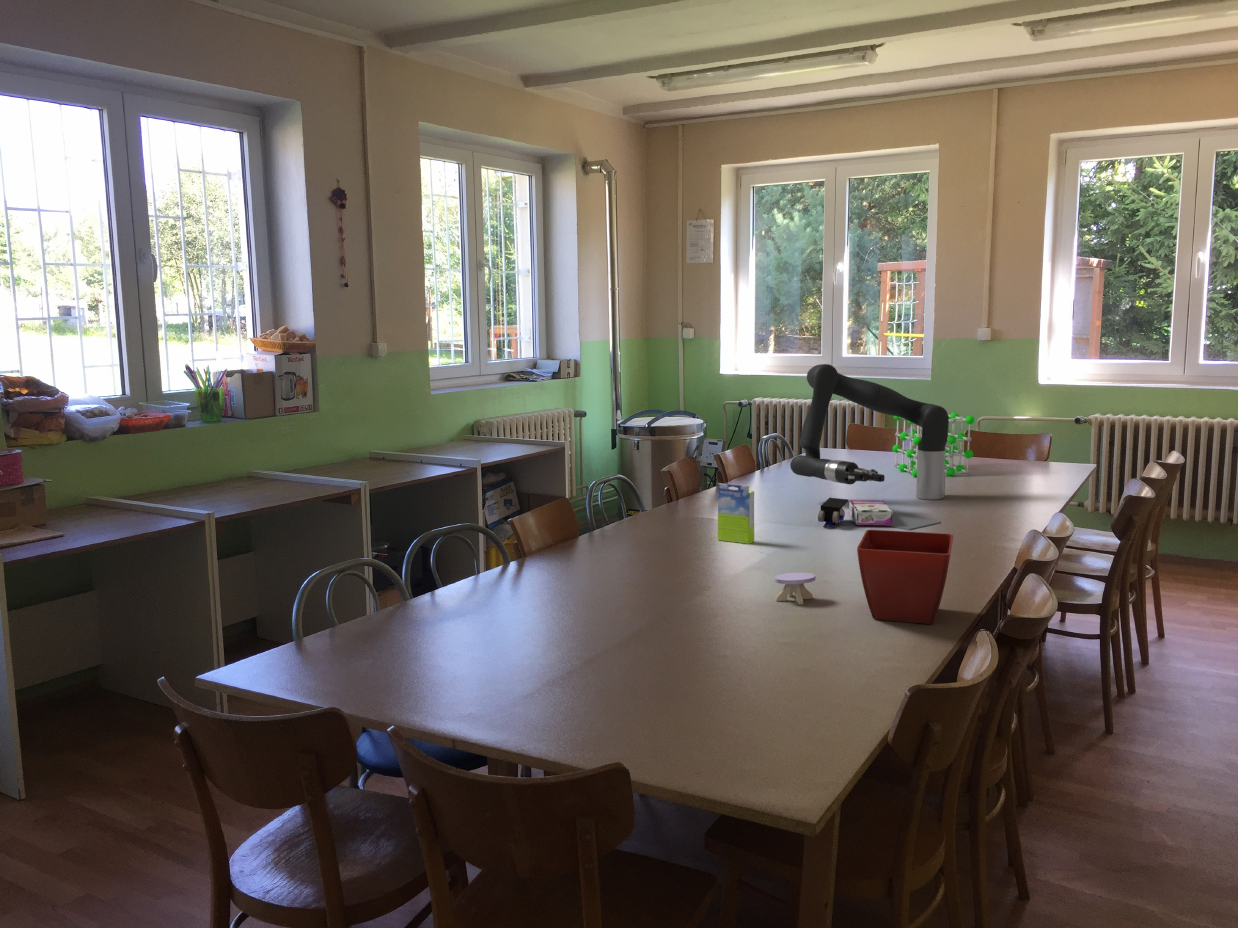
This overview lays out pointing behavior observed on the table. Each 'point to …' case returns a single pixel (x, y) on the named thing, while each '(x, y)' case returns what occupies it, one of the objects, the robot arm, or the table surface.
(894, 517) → the mat
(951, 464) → the molecular structure model
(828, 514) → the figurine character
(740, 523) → the box
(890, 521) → the candy bar box
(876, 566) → the plant pot
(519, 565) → the table surface
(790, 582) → the toy table
